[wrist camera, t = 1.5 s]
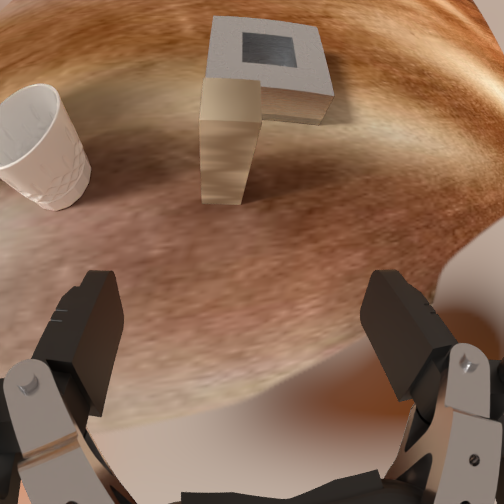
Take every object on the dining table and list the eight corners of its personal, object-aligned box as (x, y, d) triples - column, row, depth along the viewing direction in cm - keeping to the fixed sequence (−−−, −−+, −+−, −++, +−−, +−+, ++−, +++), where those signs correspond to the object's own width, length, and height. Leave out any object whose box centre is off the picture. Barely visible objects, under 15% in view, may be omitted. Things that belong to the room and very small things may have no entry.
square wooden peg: (201, 203, 27) (199, 119, 16) (203, 169, 28) (203, 77, 16) (240, 204, 28) (261, 122, 16) (240, 170, 28) (260, 80, 17)
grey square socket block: (204, 116, 29) (204, 83, 25) (211, 46, 32) (213, 15, 28) (318, 125, 31) (334, 96, 26) (306, 55, 34) (316, 27, 29)
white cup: (56, 138, 27) (19, 78, 17) (111, 157, 27) (79, 91, 18) (18, 201, 25) (-36, 155, 15) (70, 229, 25) (15, 183, 15)
